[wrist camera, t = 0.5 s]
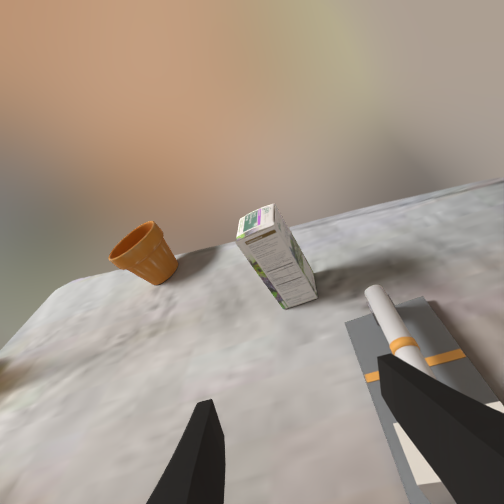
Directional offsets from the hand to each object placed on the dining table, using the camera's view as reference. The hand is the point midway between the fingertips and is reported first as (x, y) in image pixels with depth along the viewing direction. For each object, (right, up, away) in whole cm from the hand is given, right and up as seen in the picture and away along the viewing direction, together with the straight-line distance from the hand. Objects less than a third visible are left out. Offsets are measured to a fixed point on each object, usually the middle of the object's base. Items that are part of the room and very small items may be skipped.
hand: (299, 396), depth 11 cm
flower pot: (-26, 0, +61) cm, 67 cm away
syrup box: (+6, 0, +30) cm, 31 cm away
